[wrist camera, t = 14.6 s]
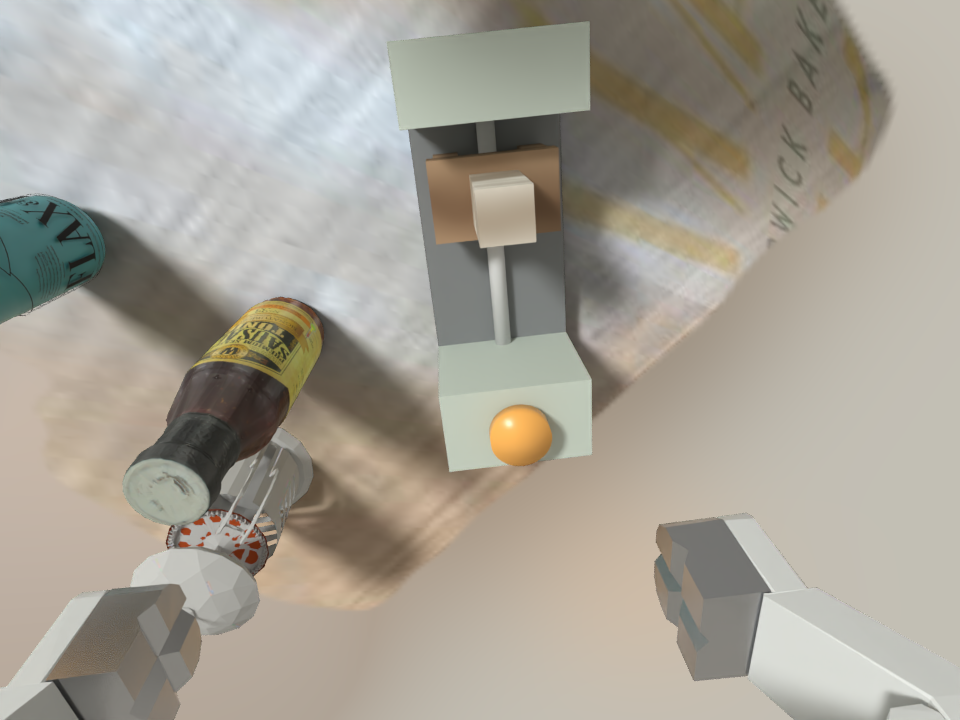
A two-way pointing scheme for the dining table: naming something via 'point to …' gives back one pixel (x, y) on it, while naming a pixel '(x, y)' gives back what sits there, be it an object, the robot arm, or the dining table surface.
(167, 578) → the french press
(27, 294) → the beverage bottle
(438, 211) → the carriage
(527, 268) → the rail bench
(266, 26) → the dining table surface
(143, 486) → the sauce bottle
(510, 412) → the button
